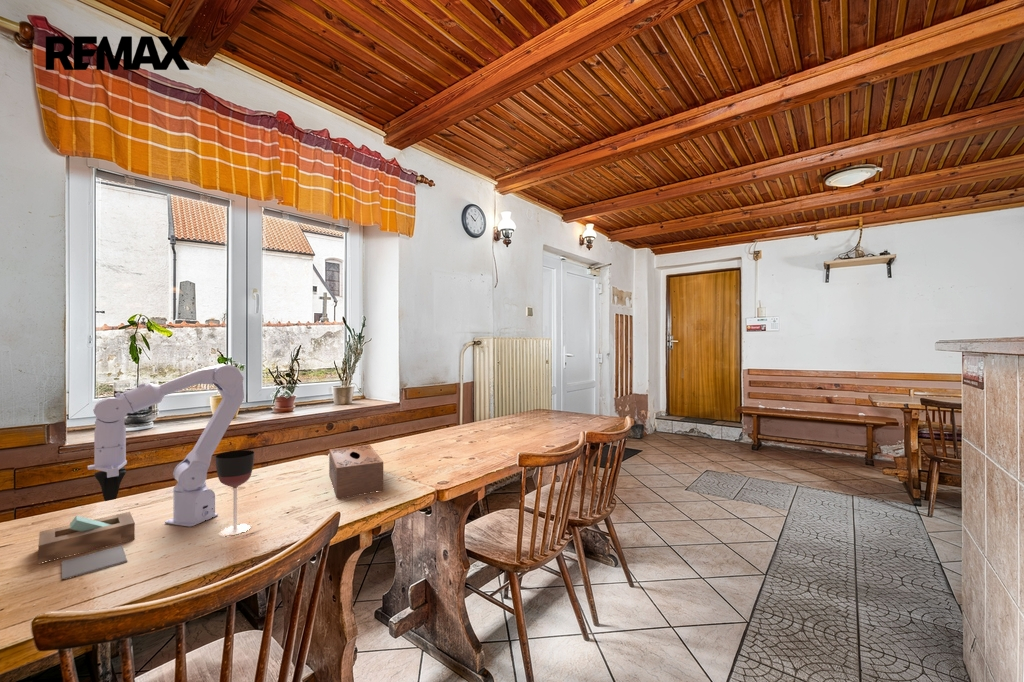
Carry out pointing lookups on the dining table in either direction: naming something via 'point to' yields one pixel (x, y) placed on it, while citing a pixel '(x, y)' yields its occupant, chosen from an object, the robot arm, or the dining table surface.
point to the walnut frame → (85, 537)
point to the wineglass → (235, 479)
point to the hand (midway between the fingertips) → (110, 499)
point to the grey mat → (93, 562)
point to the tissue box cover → (355, 470)
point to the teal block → (86, 524)
